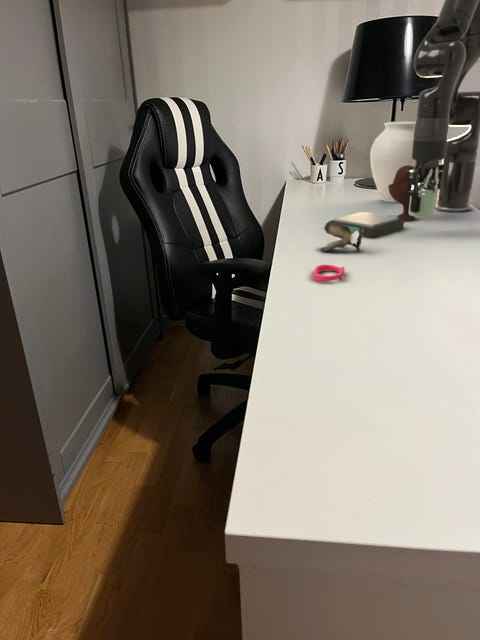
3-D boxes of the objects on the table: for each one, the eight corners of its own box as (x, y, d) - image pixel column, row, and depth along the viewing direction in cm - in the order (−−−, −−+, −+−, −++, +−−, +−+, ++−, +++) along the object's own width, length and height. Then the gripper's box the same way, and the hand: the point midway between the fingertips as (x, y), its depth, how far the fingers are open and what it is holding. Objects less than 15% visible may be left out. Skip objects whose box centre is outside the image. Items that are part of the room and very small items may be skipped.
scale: (359, 221, 143) (360, 210, 142) (403, 228, 133) (404, 217, 132) (327, 230, 134) (328, 218, 133) (372, 238, 125) (372, 226, 123)
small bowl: (416, 210, 128) (419, 189, 126) (438, 214, 124) (441, 191, 122) (403, 214, 124) (406, 192, 122) (426, 218, 120) (428, 195, 118)
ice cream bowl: (428, 223, 138) (435, 167, 132) (386, 222, 140) (391, 167, 134) (423, 215, 148) (429, 162, 142) (384, 215, 150) (388, 163, 144)
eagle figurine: (360, 240, 119) (322, 232, 120) (367, 219, 113) (327, 211, 114) (355, 264, 115) (317, 256, 116) (362, 244, 109) (321, 235, 110)
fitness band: (342, 284, 94) (342, 276, 93) (311, 282, 95) (311, 274, 95) (345, 271, 101) (345, 263, 101) (316, 269, 103) (316, 262, 102)
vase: (394, 207, 161) (402, 123, 151) (356, 199, 175) (361, 122, 165) (432, 201, 169) (442, 121, 159) (392, 194, 183) (399, 120, 173)
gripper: (429, 141, 110) (420, 217, 117) (460, 136, 119) (450, 207, 125) (399, 139, 115) (392, 212, 122) (431, 135, 124) (423, 203, 131)
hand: (421, 209), depth 124 cm, fingers closed on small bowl, 6 cm apart
